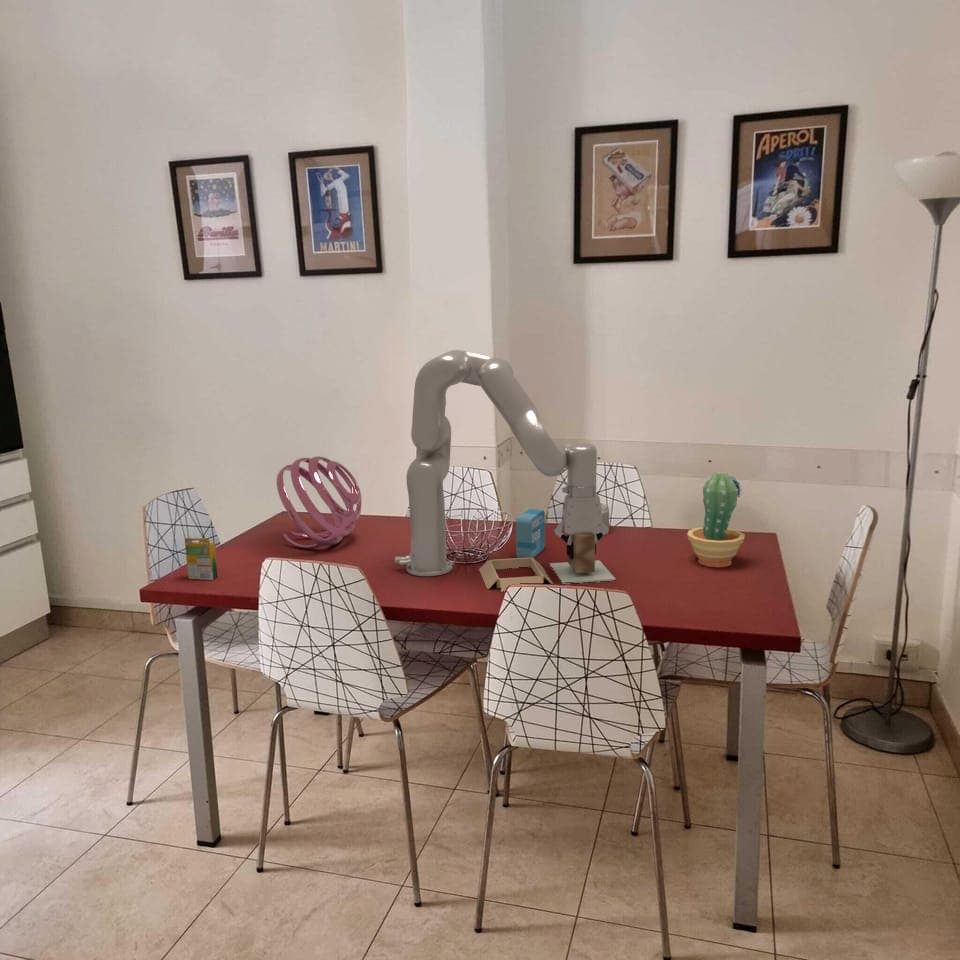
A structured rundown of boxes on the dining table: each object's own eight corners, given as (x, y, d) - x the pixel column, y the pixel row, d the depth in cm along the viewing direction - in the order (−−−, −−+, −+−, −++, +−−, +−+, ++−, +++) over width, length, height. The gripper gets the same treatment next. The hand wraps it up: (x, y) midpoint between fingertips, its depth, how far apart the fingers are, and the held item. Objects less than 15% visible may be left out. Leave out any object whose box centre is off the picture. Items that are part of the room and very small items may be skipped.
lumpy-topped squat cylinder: (609, 526, 280) (610, 500, 279) (607, 538, 268) (607, 510, 266) (576, 525, 282) (577, 499, 281) (573, 536, 270) (573, 509, 268)
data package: (531, 560, 248) (530, 519, 245) (516, 558, 250) (515, 517, 247) (545, 548, 259) (544, 508, 256) (530, 546, 261) (530, 507, 258)
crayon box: (218, 576, 240) (214, 535, 237) (213, 580, 237) (209, 538, 234) (193, 575, 241) (189, 535, 239) (188, 579, 238) (183, 538, 236)
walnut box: (575, 573, 231) (576, 536, 229) (567, 562, 240) (568, 526, 238) (595, 571, 232) (595, 534, 230) (586, 561, 241) (586, 525, 238)
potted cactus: (749, 571, 235) (754, 479, 229) (691, 571, 236) (694, 479, 230) (737, 553, 250) (741, 467, 244) (681, 553, 251) (684, 467, 246)
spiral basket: (233, 486, 259) (303, 435, 252) (283, 488, 285) (348, 442, 279) (277, 569, 253) (350, 519, 247) (323, 563, 280) (391, 518, 273)
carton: (488, 593, 223) (488, 583, 222) (477, 567, 243) (477, 557, 243) (556, 588, 225) (556, 578, 224) (539, 563, 245) (539, 553, 245)
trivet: (562, 584, 228) (562, 582, 228) (549, 565, 243) (549, 563, 243) (615, 581, 229) (615, 578, 229) (599, 562, 245) (599, 560, 245)
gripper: (553, 495, 227) (552, 563, 231) (617, 492, 229) (616, 559, 233) (546, 489, 234) (547, 555, 238) (609, 486, 236) (608, 551, 240)
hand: (581, 556), depth 235 cm, fingers closed on walnut box, 4 cm apart
